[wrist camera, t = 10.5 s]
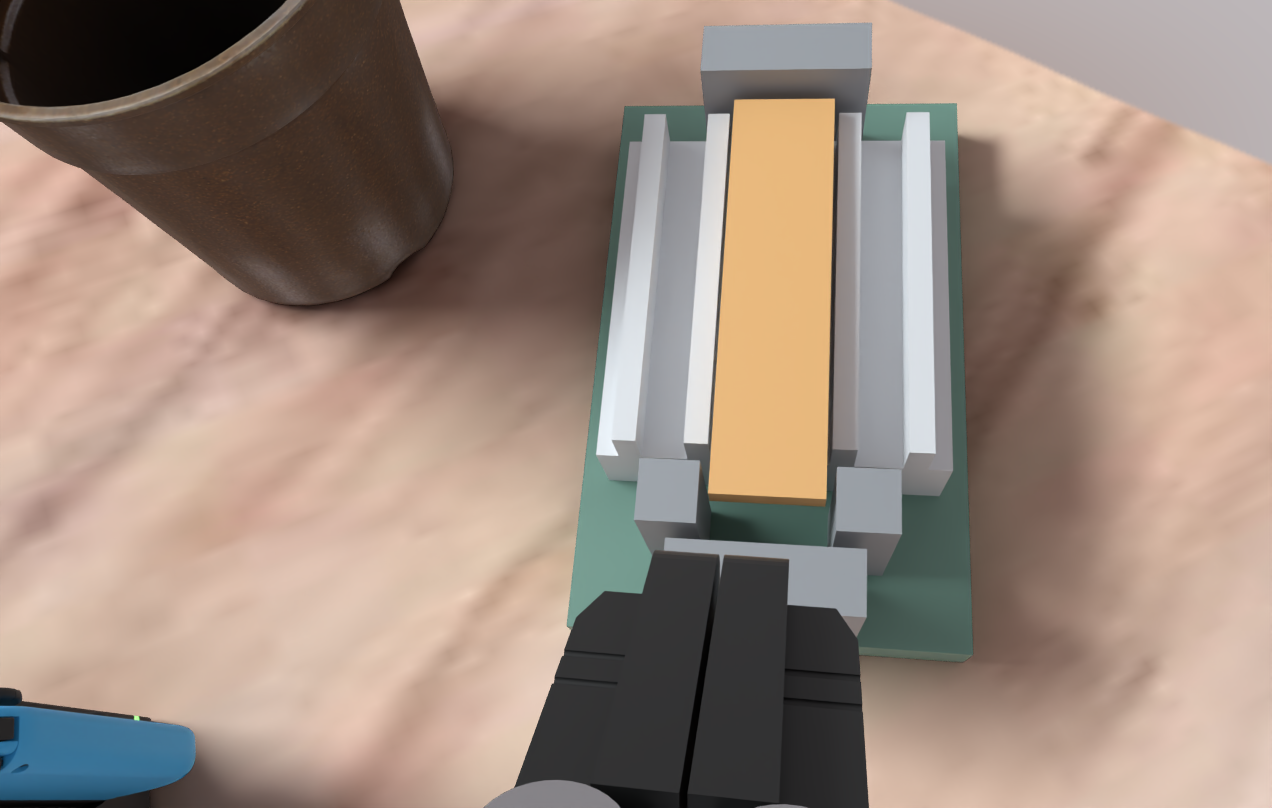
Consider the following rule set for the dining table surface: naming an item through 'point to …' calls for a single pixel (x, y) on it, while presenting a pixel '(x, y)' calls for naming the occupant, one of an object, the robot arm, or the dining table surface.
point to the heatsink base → (858, 361)
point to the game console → (85, 756)
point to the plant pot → (242, 129)
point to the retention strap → (775, 307)
